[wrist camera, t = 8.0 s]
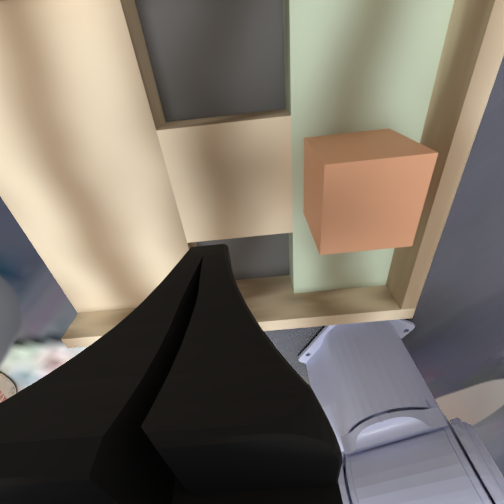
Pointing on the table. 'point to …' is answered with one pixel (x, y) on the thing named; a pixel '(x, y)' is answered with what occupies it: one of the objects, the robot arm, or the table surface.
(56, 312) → the table surface
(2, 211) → the table surface
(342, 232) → the block
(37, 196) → the trap box
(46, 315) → the table surface
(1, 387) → the teacup with lid
